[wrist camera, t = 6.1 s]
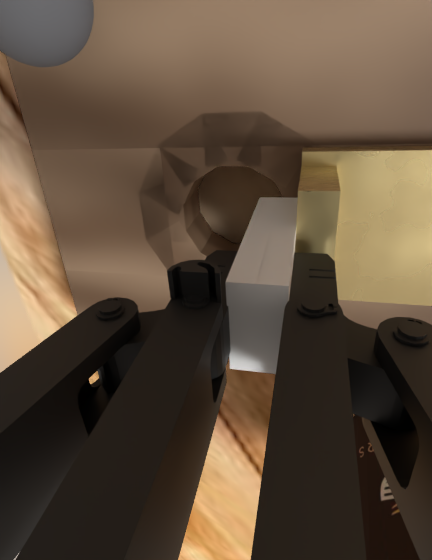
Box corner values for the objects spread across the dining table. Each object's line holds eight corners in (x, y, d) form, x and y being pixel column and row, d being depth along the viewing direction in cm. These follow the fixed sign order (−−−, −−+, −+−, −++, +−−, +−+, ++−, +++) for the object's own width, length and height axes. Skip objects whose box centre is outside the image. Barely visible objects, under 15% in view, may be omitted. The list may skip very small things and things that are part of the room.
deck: (-71, -426, 12) (-158, -533, 9) (679, -738, 8) (818, -1042, 5) (102, 308, 24) (82, 332, 22) (418, 334, 20) (429, 366, 18)
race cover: (303, 147, 14) (298, 173, 11) (485, 144, 13) (540, 173, 10) (295, 287, 17) (291, 339, 14) (444, 296, 16) (476, 357, 13)
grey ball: (2, -55, 14) (-95, -89, 10) (101, -69, 13) (29, -112, 10) (33, 69, 15) (-41, 72, 12) (121, 63, 15) (66, 65, 11)
